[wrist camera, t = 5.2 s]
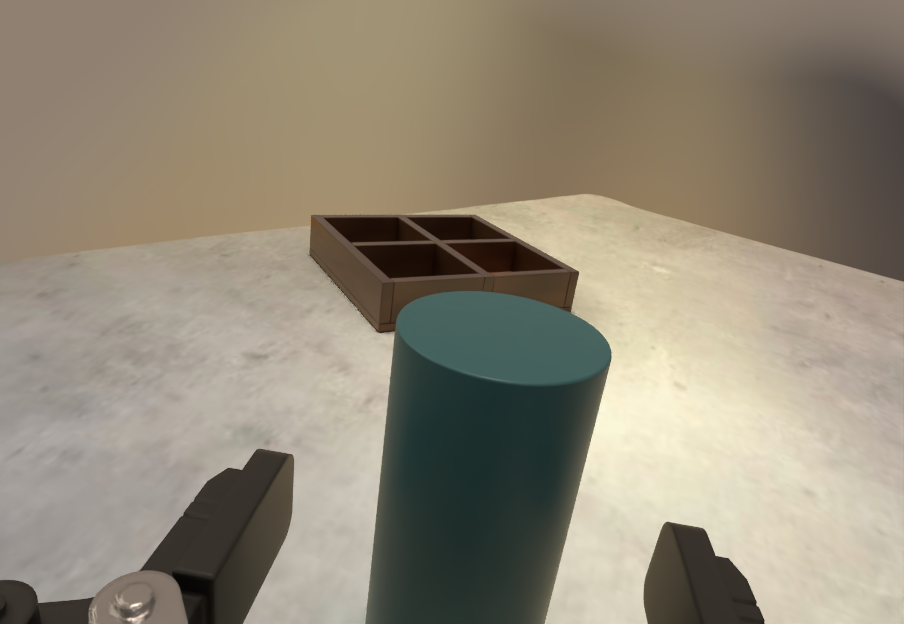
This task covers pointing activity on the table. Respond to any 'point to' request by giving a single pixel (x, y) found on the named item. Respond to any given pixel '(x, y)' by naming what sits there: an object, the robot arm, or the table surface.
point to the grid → (431, 261)
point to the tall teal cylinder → (481, 457)
